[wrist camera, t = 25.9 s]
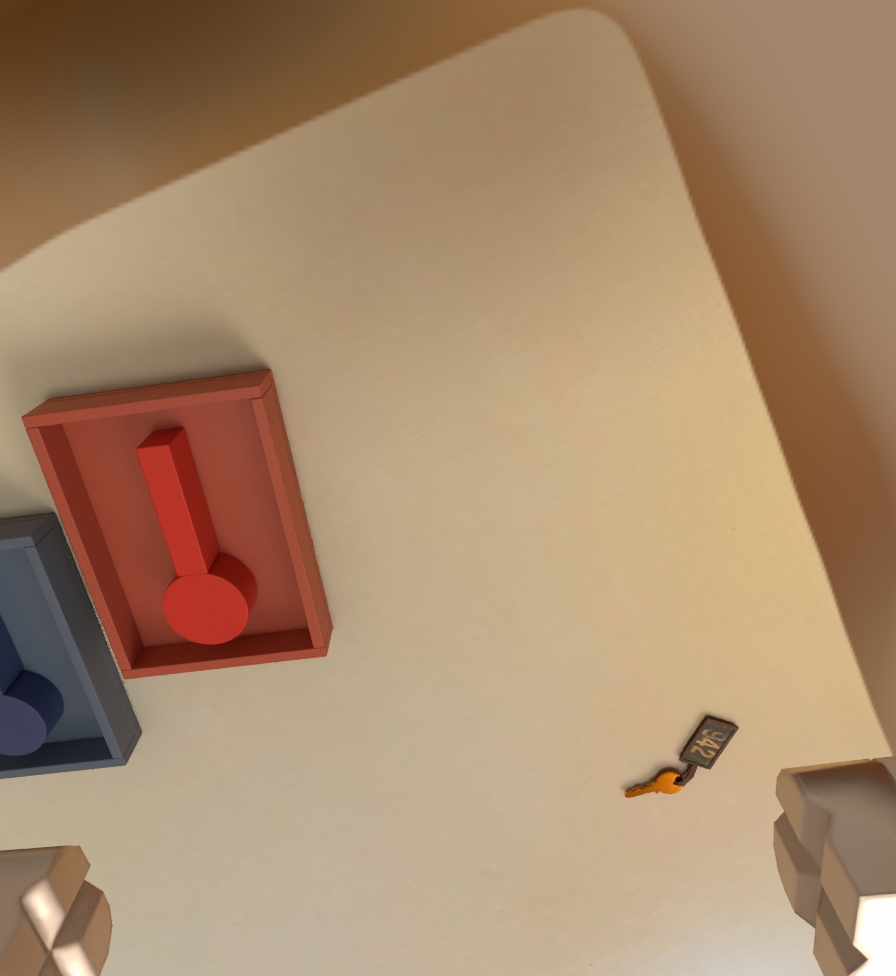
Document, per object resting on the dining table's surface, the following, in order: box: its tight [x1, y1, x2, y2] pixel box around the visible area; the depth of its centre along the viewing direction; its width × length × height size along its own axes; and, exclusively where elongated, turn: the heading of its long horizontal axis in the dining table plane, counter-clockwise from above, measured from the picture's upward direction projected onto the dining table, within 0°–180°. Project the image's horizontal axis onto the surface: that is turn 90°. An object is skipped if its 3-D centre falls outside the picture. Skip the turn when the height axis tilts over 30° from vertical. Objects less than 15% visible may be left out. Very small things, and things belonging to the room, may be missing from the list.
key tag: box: [625, 717, 739, 798], centre depth 47 cm, size 8×3×1 cm, turn 145°
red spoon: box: [136, 427, 258, 645], centre depth 38 cm, size 11×4×2 cm, turn 7°
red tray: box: [22, 370, 333, 679], centre depth 38 cm, size 15×11×3 cm
